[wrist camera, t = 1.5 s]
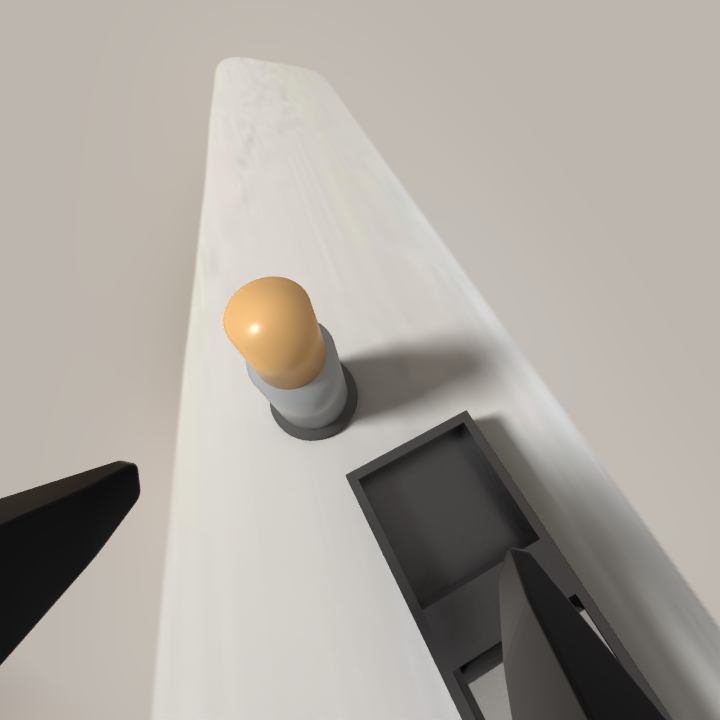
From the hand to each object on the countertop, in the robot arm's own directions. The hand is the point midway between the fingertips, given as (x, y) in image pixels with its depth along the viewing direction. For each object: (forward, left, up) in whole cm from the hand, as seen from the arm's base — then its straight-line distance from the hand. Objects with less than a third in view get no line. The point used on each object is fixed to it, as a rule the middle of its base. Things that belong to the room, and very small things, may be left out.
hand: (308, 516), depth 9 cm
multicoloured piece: (+1, +8, -13) cm, 16 cm away
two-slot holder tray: (+5, -6, -14) cm, 16 cm away
